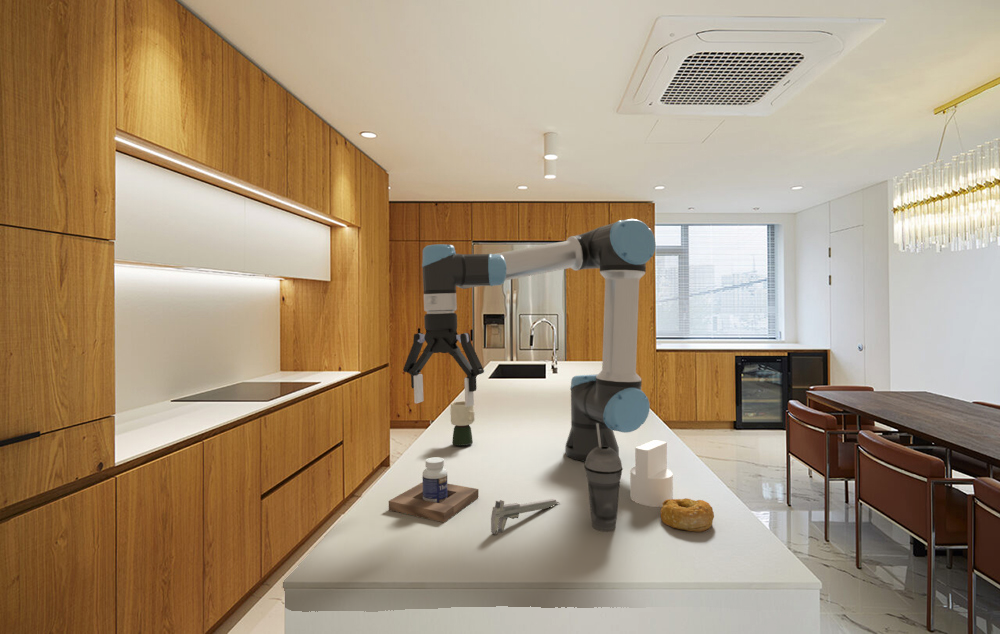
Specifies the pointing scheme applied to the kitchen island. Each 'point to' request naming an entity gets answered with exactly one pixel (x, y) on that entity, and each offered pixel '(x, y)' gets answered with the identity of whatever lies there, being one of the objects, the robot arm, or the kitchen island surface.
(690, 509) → the bagel
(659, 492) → the cylinder with rectangular tab
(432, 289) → the robot arm
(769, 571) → the kitchen island surface
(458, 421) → the character mug
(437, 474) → the pill bottle
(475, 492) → the holder block
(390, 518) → the kitchen island surface
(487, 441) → the kitchen island surface
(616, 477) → the beverage cup
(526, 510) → the caliper
